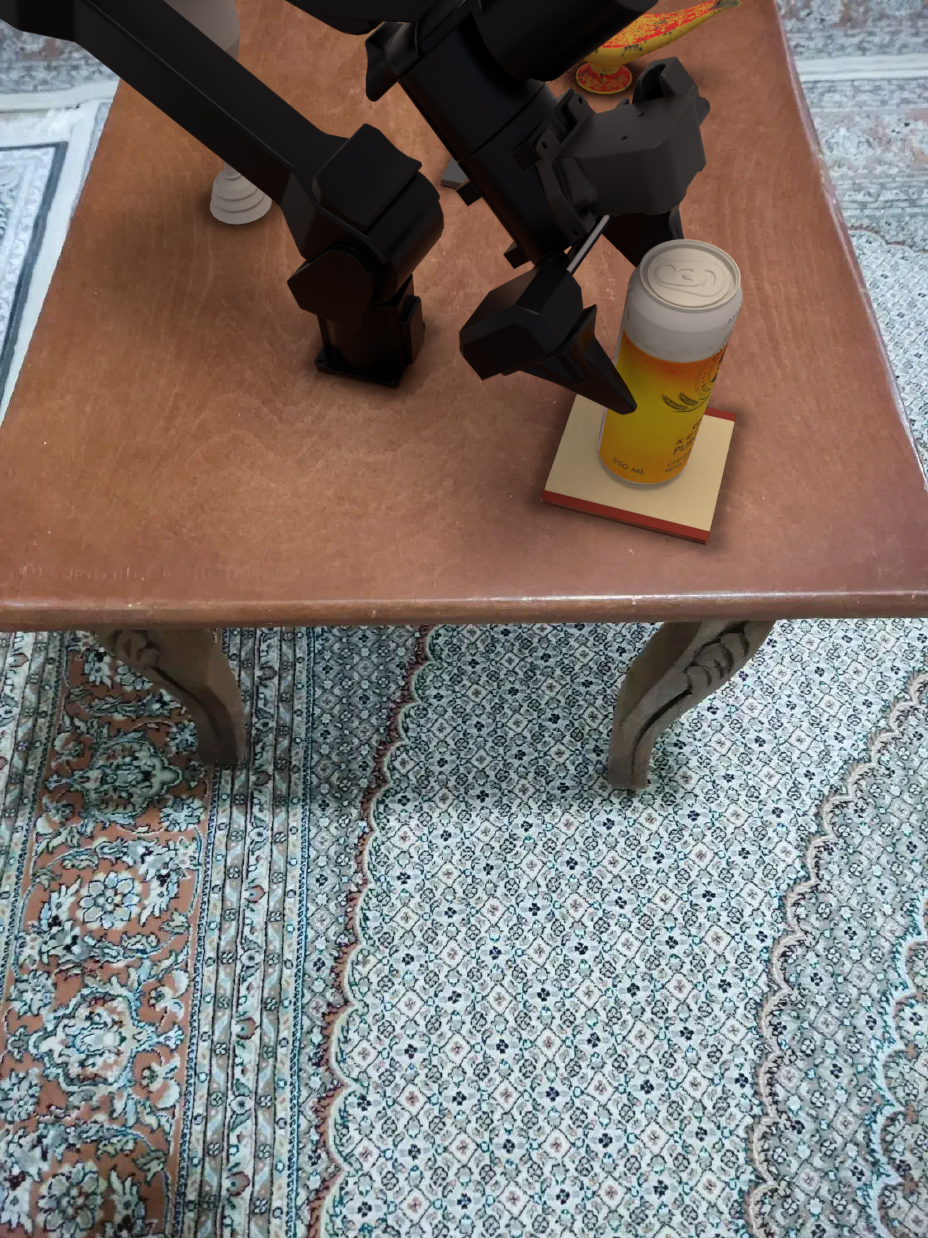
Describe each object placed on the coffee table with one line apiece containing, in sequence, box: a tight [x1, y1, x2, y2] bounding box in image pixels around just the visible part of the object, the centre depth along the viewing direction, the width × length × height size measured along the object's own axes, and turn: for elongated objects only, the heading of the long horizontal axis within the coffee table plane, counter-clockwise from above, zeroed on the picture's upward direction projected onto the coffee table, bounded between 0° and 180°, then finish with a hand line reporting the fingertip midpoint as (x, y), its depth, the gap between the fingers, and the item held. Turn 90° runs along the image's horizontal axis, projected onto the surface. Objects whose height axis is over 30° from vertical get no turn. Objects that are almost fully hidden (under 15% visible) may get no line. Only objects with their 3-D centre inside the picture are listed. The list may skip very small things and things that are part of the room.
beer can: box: [598, 238, 744, 485], centre depth 53 cm, size 6×6×15 cm
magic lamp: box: [575, 0, 742, 95], centre depth 75 cm, size 7×18×11 cm, turn 85°
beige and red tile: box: [540, 393, 737, 545], centre depth 60 cm, size 11×11×1 cm
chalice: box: [164, 0, 273, 225], centre depth 65 cm, size 7×7×18 cm
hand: (662, 358), depth 52 cm, fingers open, 9 cm apart
